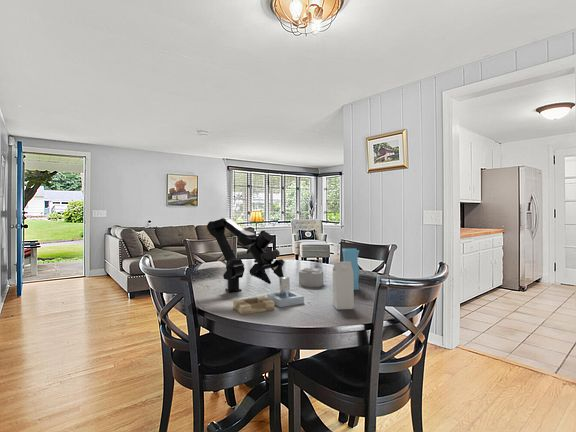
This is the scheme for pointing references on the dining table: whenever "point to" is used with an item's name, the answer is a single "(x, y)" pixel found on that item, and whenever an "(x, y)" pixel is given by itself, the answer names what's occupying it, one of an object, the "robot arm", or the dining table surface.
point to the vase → (352, 263)
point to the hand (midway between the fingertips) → (277, 281)
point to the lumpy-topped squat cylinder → (311, 277)
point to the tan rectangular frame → (253, 305)
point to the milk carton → (343, 285)
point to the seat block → (286, 299)
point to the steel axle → (284, 287)
